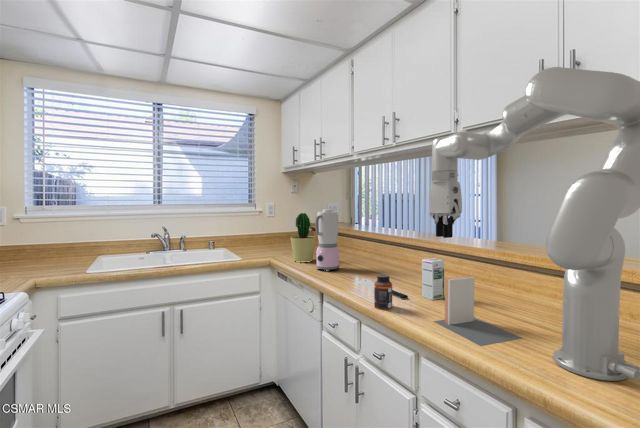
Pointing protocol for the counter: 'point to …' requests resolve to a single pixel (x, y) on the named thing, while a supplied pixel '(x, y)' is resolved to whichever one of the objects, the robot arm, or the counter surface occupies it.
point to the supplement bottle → (383, 293)
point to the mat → (480, 332)
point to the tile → (459, 300)
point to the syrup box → (433, 278)
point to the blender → (327, 240)
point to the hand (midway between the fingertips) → (444, 236)
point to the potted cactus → (303, 240)
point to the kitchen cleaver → (370, 285)
